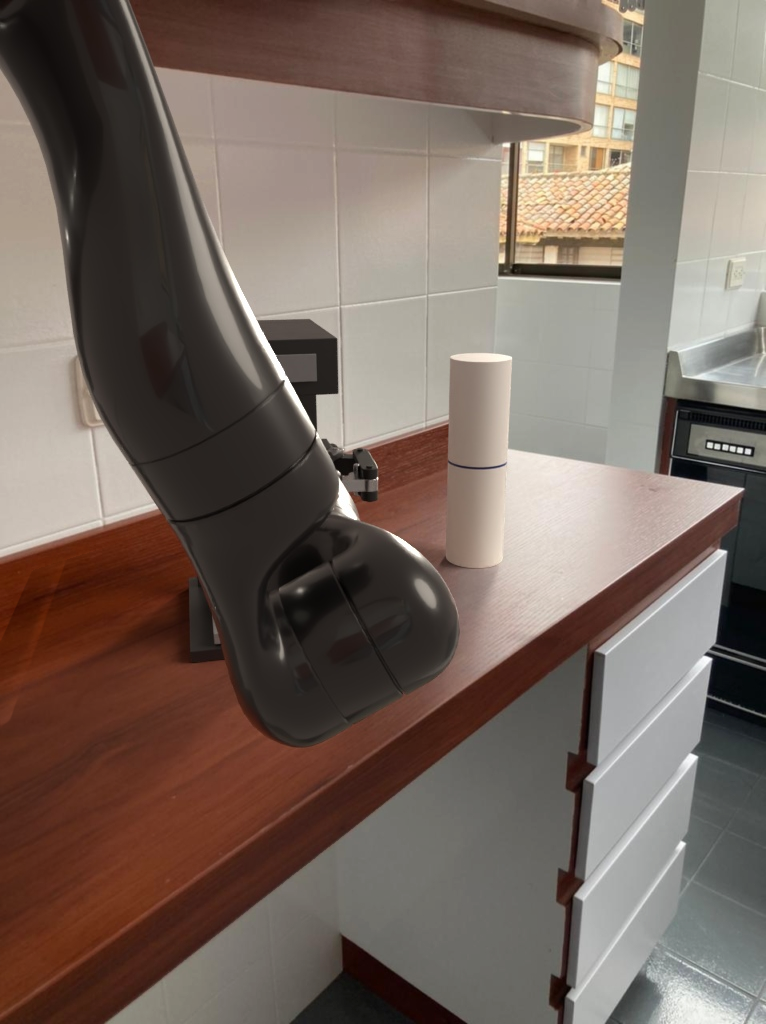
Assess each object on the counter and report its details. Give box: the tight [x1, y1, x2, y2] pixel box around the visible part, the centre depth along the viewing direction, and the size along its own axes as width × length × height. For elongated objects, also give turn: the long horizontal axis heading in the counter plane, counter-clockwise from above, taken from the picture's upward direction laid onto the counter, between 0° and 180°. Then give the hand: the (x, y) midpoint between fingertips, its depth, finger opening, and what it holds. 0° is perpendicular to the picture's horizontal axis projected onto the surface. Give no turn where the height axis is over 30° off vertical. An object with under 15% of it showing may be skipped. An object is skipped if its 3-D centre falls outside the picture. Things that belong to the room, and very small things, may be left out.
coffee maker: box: [188, 318, 340, 664], centre depth 83 cm, size 16×18×30 cm
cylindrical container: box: [445, 352, 513, 569], centre depth 99 cm, size 7×7×25 cm
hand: (270, 453), depth 67 cm, fingers open, 8 cm apart
